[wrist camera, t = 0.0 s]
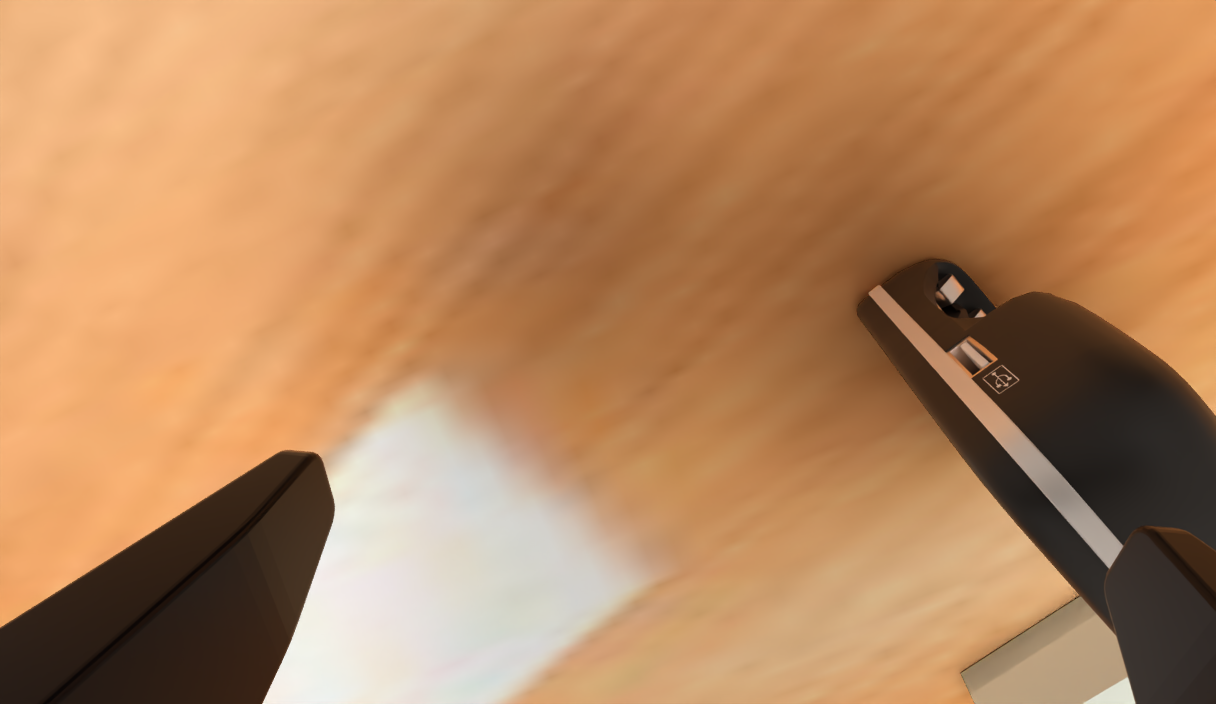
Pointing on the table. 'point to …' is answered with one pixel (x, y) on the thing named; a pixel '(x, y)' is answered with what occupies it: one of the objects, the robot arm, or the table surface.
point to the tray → (1055, 664)
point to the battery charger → (1053, 416)
